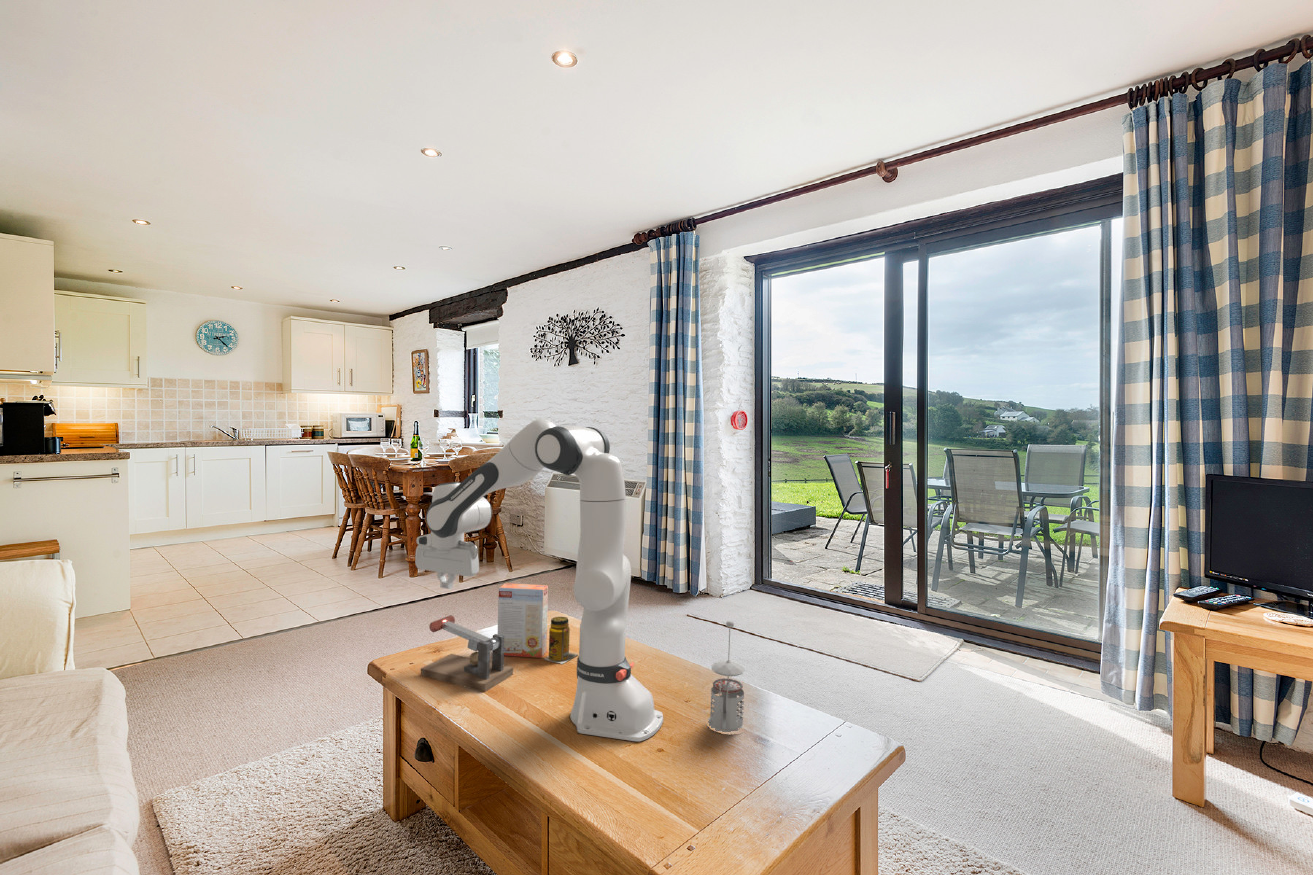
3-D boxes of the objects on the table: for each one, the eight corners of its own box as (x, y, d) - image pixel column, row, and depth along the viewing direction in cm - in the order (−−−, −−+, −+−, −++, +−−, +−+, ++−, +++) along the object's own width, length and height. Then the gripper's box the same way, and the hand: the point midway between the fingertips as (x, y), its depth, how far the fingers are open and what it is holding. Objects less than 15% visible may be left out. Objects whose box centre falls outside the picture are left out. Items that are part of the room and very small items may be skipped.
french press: (749, 718, 146) (753, 617, 145) (743, 742, 135) (747, 632, 134) (709, 712, 148) (713, 612, 148) (700, 734, 137) (704, 627, 137)
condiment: (542, 659, 178) (543, 619, 178) (559, 650, 186) (560, 612, 186) (562, 664, 175) (563, 624, 175) (578, 655, 182) (580, 616, 182)
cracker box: (547, 651, 184) (549, 584, 184) (541, 658, 178) (543, 589, 178) (503, 648, 186) (505, 581, 186) (496, 655, 180) (498, 586, 180)
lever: (502, 651, 165) (504, 636, 165) (485, 660, 158) (488, 645, 158) (445, 627, 173) (448, 613, 172) (427, 635, 166) (430, 620, 166)
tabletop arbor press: (512, 674, 167) (514, 633, 166) (484, 691, 156) (486, 648, 155) (451, 660, 175) (452, 621, 175) (420, 675, 164) (421, 634, 164)
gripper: (484, 541, 167) (483, 590, 167) (428, 534, 175) (427, 580, 175) (469, 544, 161) (468, 595, 161) (411, 537, 169) (410, 585, 169)
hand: (446, 587), depth 168 cm, fingers closed
